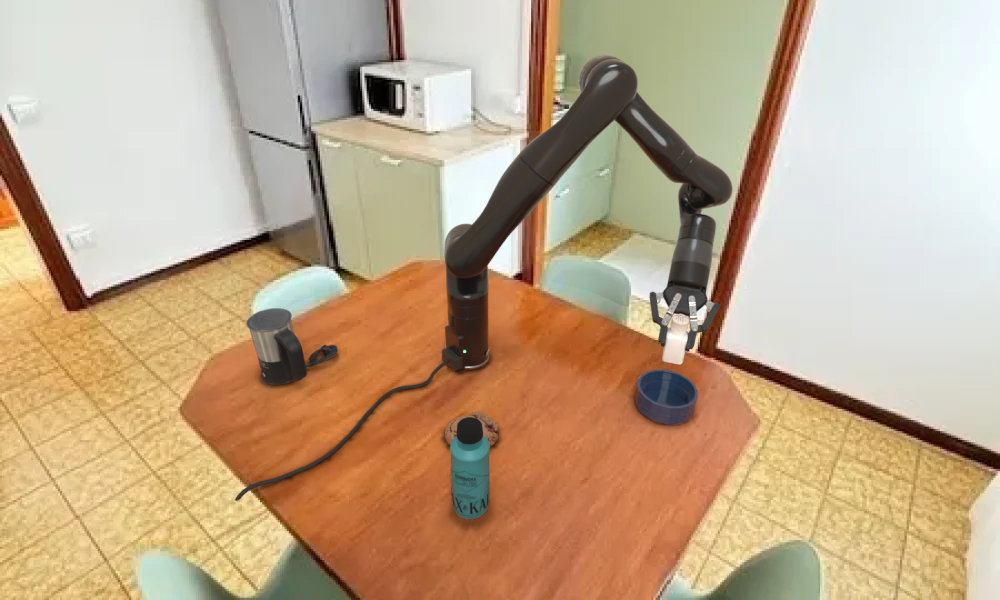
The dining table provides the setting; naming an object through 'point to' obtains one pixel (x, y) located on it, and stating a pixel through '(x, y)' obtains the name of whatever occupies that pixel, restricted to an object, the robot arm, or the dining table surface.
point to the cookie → (487, 424)
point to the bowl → (665, 396)
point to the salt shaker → (676, 340)
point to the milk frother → (281, 347)
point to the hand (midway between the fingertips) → (675, 347)
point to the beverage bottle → (470, 469)
